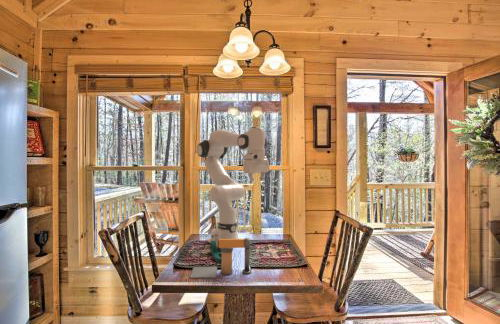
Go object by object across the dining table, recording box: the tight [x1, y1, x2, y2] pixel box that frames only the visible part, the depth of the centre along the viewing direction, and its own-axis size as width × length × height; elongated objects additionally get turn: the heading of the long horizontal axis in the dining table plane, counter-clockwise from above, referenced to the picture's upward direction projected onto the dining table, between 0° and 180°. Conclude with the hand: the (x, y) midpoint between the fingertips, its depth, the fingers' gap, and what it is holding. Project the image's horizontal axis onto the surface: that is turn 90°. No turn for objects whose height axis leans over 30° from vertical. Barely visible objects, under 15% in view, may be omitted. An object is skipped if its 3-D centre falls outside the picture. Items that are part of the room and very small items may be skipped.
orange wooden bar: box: [219, 237, 251, 249], centre depth 139 cm, size 16×3×4 cm, turn 94°
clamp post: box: [241, 247, 252, 275], centre depth 140 cm, size 4×4×12 cm
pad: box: [189, 266, 218, 280], centre depth 139 cm, size 12×12×1 cm
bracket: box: [209, 240, 222, 263], centre depth 161 cm, size 18×7×8 cm, turn 19°
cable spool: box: [220, 248, 234, 276], centre depth 139 cm, size 6×6×12 cm
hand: (256, 180), depth 157 cm, fingers open, 8 cm apart
